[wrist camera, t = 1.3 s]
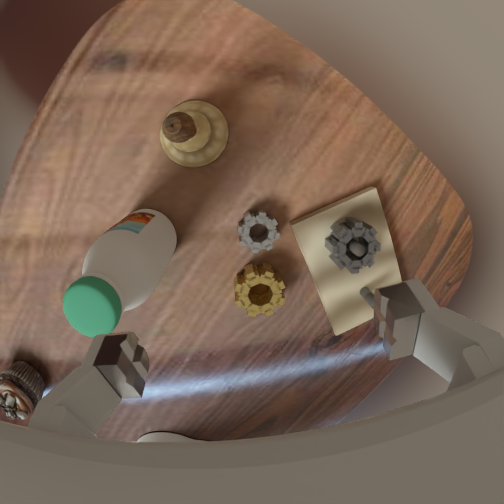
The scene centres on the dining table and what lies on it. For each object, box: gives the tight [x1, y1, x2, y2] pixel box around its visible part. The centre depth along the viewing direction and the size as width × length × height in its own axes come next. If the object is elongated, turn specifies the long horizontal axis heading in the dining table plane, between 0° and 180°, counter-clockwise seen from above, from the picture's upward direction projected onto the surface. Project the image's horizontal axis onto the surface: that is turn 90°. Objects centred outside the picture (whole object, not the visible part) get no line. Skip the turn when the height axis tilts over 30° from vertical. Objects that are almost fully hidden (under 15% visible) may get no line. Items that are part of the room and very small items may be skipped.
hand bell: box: [160, 100, 229, 168], centre depth 28 cm, size 8×8×16 cm
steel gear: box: [325, 217, 381, 274], centre depth 38 cm, size 6×6×3 cm
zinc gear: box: [237, 209, 280, 253], centre depth 39 cm, size 5×5×2 cm
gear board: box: [290, 186, 402, 336], centre depth 40 cm, size 18×12×6 cm, turn 24°
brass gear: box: [234, 262, 285, 317], centre depth 41 cm, size 6×6×3 cm
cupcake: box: [0, 361, 45, 420], centre depth 41 cm, size 10×10×10 cm
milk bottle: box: [63, 209, 177, 337], centre depth 30 cm, size 8×8×20 cm
